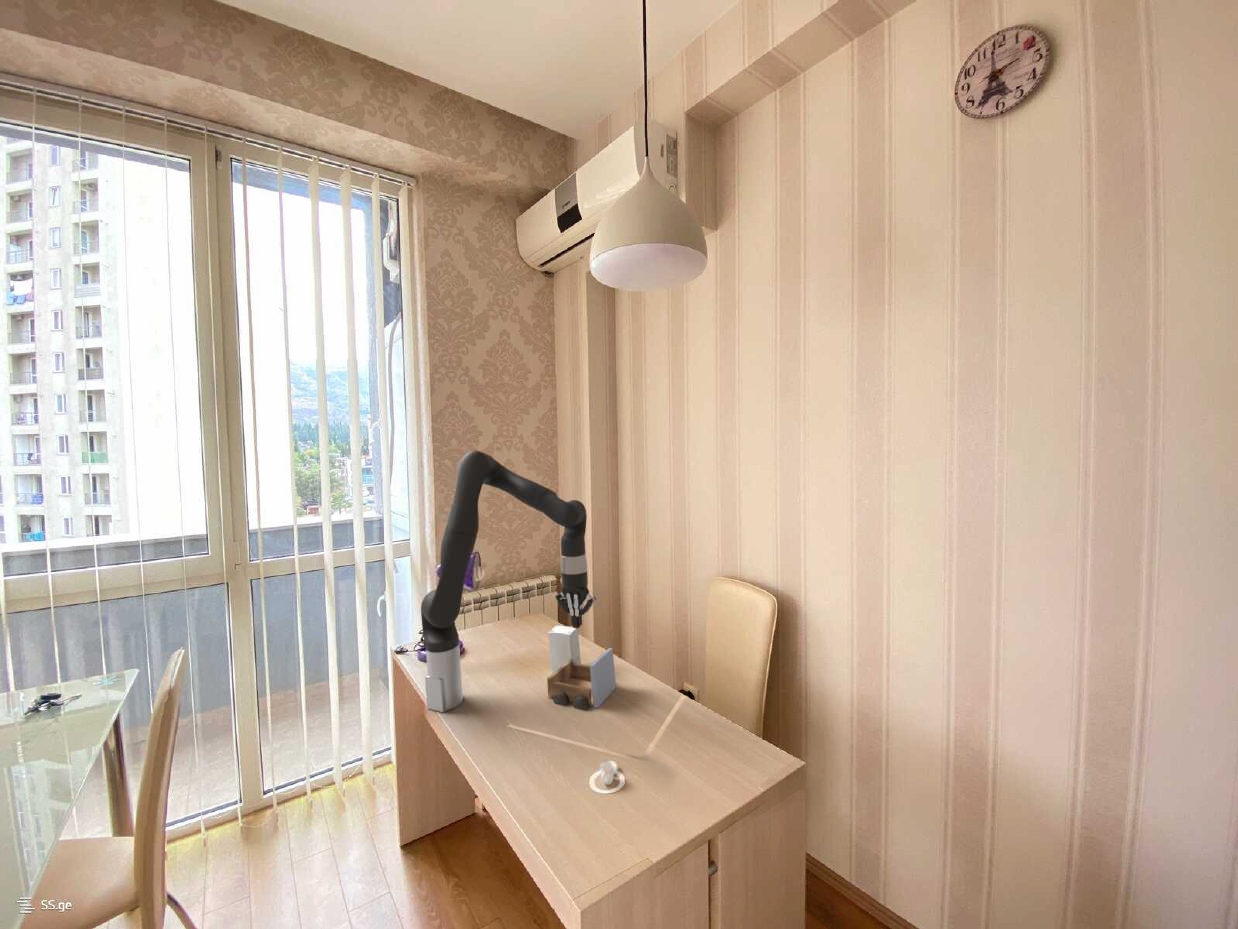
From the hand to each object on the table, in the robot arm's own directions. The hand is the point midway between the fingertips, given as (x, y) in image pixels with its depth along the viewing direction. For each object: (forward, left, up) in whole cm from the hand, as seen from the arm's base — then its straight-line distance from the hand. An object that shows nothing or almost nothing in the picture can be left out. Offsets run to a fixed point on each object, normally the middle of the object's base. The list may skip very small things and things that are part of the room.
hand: (577, 627), depth 149 cm
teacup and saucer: (-28, -26, -21) cm, 44 cm away
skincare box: (+10, +11, -21) cm, 26 cm away
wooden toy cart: (0, -1, -21) cm, 21 cm away
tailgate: (0, -8, -20) cm, 21 cm away
